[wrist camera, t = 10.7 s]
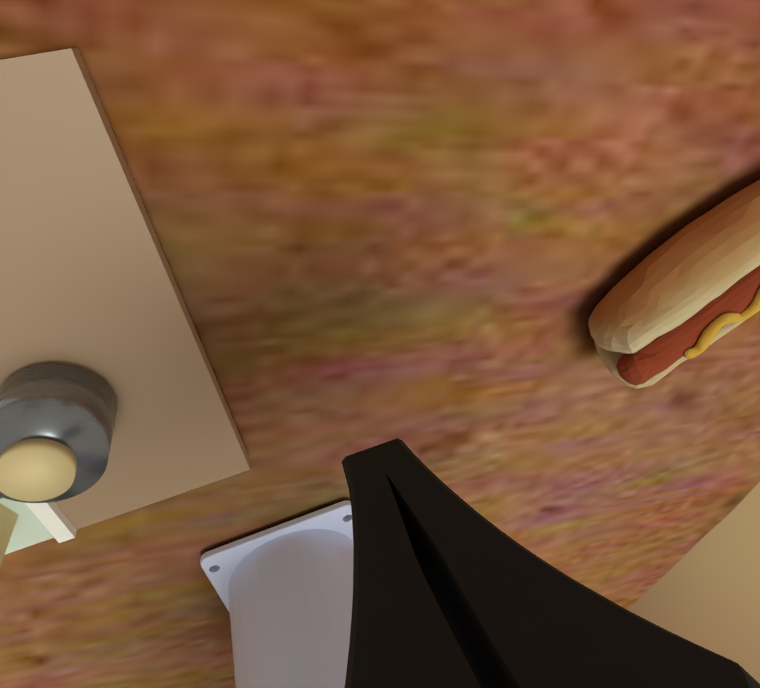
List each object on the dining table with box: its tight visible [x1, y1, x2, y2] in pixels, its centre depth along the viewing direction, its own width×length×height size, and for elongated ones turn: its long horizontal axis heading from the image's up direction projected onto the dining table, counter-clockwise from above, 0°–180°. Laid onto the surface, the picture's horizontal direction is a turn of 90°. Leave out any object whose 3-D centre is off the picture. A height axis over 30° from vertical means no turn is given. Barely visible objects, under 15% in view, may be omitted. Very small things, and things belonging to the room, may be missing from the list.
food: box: [588, 179, 760, 389], centre depth 23 cm, size 14×6×5 cm, turn 123°
